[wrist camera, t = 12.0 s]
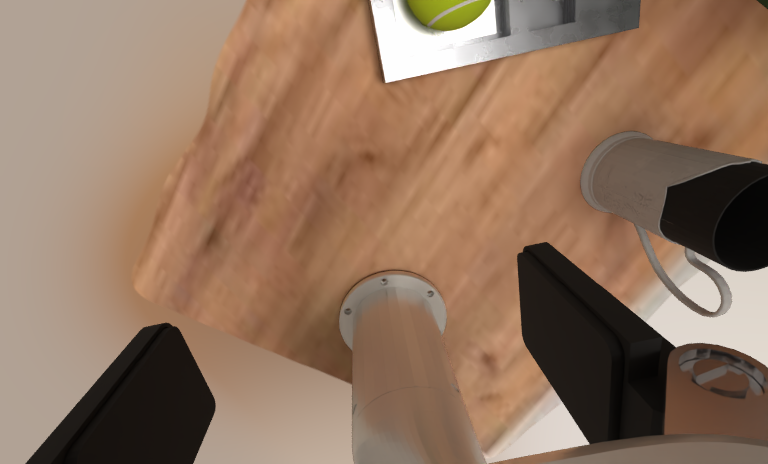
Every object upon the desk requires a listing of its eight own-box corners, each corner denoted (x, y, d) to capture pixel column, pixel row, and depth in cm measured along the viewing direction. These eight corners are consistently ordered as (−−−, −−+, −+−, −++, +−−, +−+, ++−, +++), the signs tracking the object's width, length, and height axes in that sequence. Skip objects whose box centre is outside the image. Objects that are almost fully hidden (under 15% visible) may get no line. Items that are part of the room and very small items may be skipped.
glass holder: (666, 124, 38) (848, 149, 24) (650, 248, 43) (791, 327, 29) (582, 139, 37) (716, 173, 24) (576, 261, 43) (683, 347, 29)
